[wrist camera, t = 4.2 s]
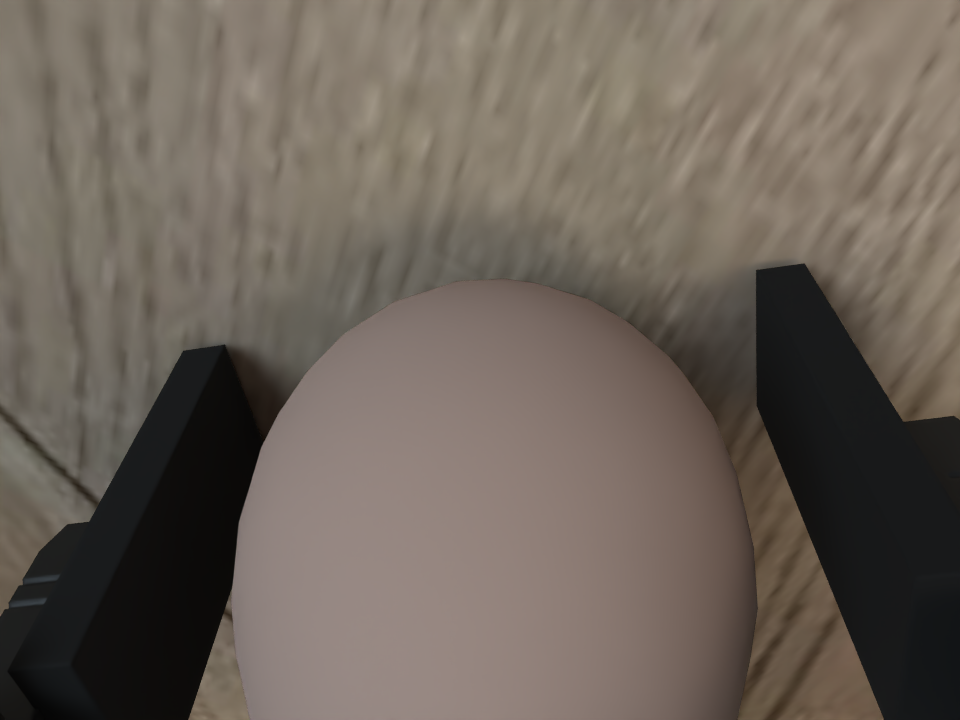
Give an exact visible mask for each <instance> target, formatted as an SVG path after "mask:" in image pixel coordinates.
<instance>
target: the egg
mask: <svg viewBox="0 0 960 720" xmlns="http://www.w3.org/2000/svg"><path fill="white" fill-rule="evenodd" d="M231 605H232V617H233V629H234V641H235V653H236V657H237V662H238V667H239V671H240V676H241V680H242V685H243V690H244V694H245V699H246V703H247V708H248V713H249V717H250V720H737V718H738V714H739V709H740V704H741V699H742V695H743V690H744V685H745V681H746V676H747V671H748V667H749V662H750V657H751V650H752V644H753V637H754V630H755V624H756V617H757V610H758V606H757V591H756V576H755V561H754V546H753V542H752V538H751V533H750V529H749V525H748V521H747V516H746V512H745V508H744V503H743V499H742V495H741V490H740V486H739V482H738V477H737V473H736V471H735V468H734V466H733V464H732V461H731V459H730V456H729V454H728V451H727V449H726V447H725V444H724V442H723V439H722V437H721V434H720V432H719V430H718V427H717V425H716V422H715V420H714V417H713V416H712V414H711V413H710V411H709V410H708V408H707V407H706V405H705V404H704V403H703V401H702V400H701V398H700V397H699V395H698V394H697V392H696V391H695V390H694V388H693V387H692V385H691V384H690V382H689V381H688V379H687V378H686V377H685V375H684V374H683V373H682V371H681V370H680V369H679V368H678V367H677V365H676V364H675V363H674V362H673V361H672V359H671V358H670V357H669V356H668V355H667V354H666V353H664V352H663V351H662V350H661V349H660V348H658V347H657V346H656V345H655V344H654V343H652V342H651V341H650V340H649V339H648V338H647V337H645V336H644V335H643V334H642V333H641V332H639V331H638V330H637V329H636V328H635V327H633V326H632V325H631V324H629V323H628V322H627V321H625V320H623V319H622V318H620V317H618V316H617V315H615V314H613V313H611V312H610V311H608V310H606V309H605V308H603V307H601V306H600V305H598V304H596V303H595V302H593V301H591V300H589V299H586V298H583V297H580V296H576V295H573V294H570V293H567V292H563V291H560V290H557V289H554V288H550V287H547V286H544V285H541V284H537V283H530V282H523V281H516V280H509V279H491V280H473V281H456V282H453V283H450V284H447V285H444V286H441V287H438V288H435V289H432V290H429V291H425V292H422V293H419V294H416V295H413V296H410V297H407V298H404V299H401V300H398V301H395V302H392V303H391V304H389V305H388V306H386V307H385V308H383V309H382V310H380V311H379V312H377V313H376V314H374V315H372V316H371V317H369V318H368V319H366V320H365V321H363V322H362V323H360V324H359V325H357V326H355V327H354V328H352V329H351V330H349V331H348V332H346V333H345V334H343V335H342V336H341V337H340V338H339V339H338V340H337V341H336V342H335V343H334V344H333V345H332V346H331V347H330V348H329V349H328V350H327V351H326V352H325V353H324V354H323V355H322V357H321V358H320V359H319V360H318V361H317V362H316V363H315V364H314V365H313V366H312V367H311V368H310V369H309V370H308V371H307V372H306V374H305V375H304V377H303V378H302V380H301V381H300V383H299V384H298V386H297V387H296V389H295V390H294V392H293V393H292V395H291V396H290V398H289V399H288V400H287V402H286V403H285V405H284V406H283V408H282V409H281V411H280V412H279V414H278V416H277V418H276V420H275V422H274V423H273V425H272V427H271V429H270V431H269V433H268V435H267V437H266V439H265V441H264V443H263V445H262V447H261V450H260V454H259V457H258V460H257V464H256V467H255V470H254V474H253V477H252V481H251V484H250V487H249V491H248V494H247V497H246V501H245V504H244V507H243V511H242V514H241V517H240V521H239V527H238V537H237V547H236V557H235V567H234V577H233V587H232V597H231Z"/></svg>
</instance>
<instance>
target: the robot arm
mask: <svg viewBox="0 0 960 720" xmlns="http://www.w3.org/2000/svg"><path fill="white" fill-rule="evenodd" d="M756 372H757V408H758V410H759V413H760V415H761V417H762V420H763V422H764V425H765V427H766V430H767V432H768V435H769V437H770V440H771V442H772V445H773V447H774V449H775V452H776V454H777V457H778V459H779V462H780V464H781V467H782V469H783V472H784V474H785V477H786V479H787V481H788V484H789V486H790V489H791V491H792V494H793V496H794V499H795V501H796V504H797V506H798V509H799V511H800V513H801V516H802V518H803V521H804V523H805V526H806V528H807V531H808V533H809V536H810V538H811V541H812V543H813V545H814V548H815V550H816V553H817V555H818V558H819V560H820V563H821V565H822V568H823V570H824V573H825V575H826V577H827V580H828V582H829V585H830V587H831V590H832V592H833V595H834V597H835V600H836V602H837V605H838V607H839V609H840V612H841V614H842V617H843V619H844V622H845V624H846V627H847V629H848V632H849V634H850V637H851V639H852V641H853V644H854V646H855V649H856V651H857V654H858V656H859V659H860V661H861V664H862V666H863V669H864V671H865V673H866V676H867V678H868V681H869V683H870V686H871V688H872V691H873V693H874V696H875V698H876V701H877V703H878V705H879V708H880V710H881V713H882V715H883V718H884V720H960V420H959V419H958V418H956V417H955V416H950V417H941V418H933V419H924V420H916V421H908V422H903V421H902V419H901V418H900V416H899V415H898V413H897V411H896V410H895V408H894V406H893V405H892V403H891V402H890V400H889V398H888V397H887V395H886V394H885V392H884V390H883V389H882V387H881V386H880V384H879V382H878V381H877V379H876V378H875V376H874V374H873V373H872V371H871V370H870V368H869V366H868V365H867V363H866V362H865V360H864V358H863V357H862V355H861V353H860V352H859V350H858V349H857V347H856V345H855V344H854V342H853V341H852V339H851V337H850V336H849V334H848V333H847V331H846V329H845V328H844V326H843V325H842V323H841V321H840V320H839V318H838V317H837V315H836V313H835V312H834V310H833V308H832V307H831V305H830V304H829V302H828V300H827V299H826V297H825V296H824V294H823V292H822V291H821V289H820V288H819V286H818V284H817V283H816V281H815V280H814V278H813V276H812V275H811V273H810V272H809V270H808V268H807V267H806V265H805V264H798V265H791V266H784V267H776V268H769V269H762V270H756ZM262 445H263V441H262V438H261V436H260V433H259V431H258V428H257V426H256V423H255V420H254V418H253V415H252V413H251V410H250V408H249V405H248V402H247V400H246V397H245V395H244V392H243V390H242V387H241V385H240V382H239V379H238V377H237V374H236V372H235V369H234V367H233V364H232V362H231V359H230V356H229V354H228V351H227V349H226V346H225V345H221V346H214V347H207V348H200V349H193V350H186V351H183V352H182V354H181V356H180V358H179V359H178V361H177V363H176V365H175V367H174V368H173V370H172V372H171V374H170V376H169V378H168V379H167V381H166V383H165V385H164V387H163V388H162V390H161V392H160V394H159V396H158V398H157V399H156V401H155V403H154V405H153V407H152V408H151V410H150V412H149V414H148V416H147V418H146V419H145V421H144V423H143V425H142V427H141V428H140V430H139V432H138V434H137V436H136V438H135V439H134V441H133V443H132V445H131V447H130V448H129V450H128V452H127V454H126V456H125V458H124V459H123V461H122V463H121V465H120V467H119V468H118V470H117V472H116V474H115V476H114V478H113V479H112V481H111V483H110V485H109V487H108V488H107V490H106V492H105V494H104V496H103V498H102V499H101V501H100V503H99V505H98V507H97V508H96V510H95V512H94V514H93V516H92V518H91V519H90V521H89V522H83V523H75V524H67V525H66V526H65V527H64V528H63V529H62V530H61V531H60V532H59V533H58V534H57V535H56V536H55V537H54V538H53V539H52V540H51V541H50V542H48V543H47V544H46V545H45V546H44V547H43V548H42V549H41V550H40V551H39V553H38V554H37V556H36V558H35V559H34V561H33V563H32V565H31V566H30V568H29V570H28V571H27V573H26V575H25V576H24V578H23V585H20V586H18V588H17V590H16V591H15V593H14V595H13V597H12V598H11V600H10V602H9V603H8V604H9V609H5V610H4V612H3V613H2V615H1V617H0V720H188V719H189V716H190V713H191V710H192V707H193V704H194V701H195V698H196V695H197V692H198V689H199V686H200V683H201V680H202V677H203V674H204V671H205V668H206V664H207V661H208V658H209V655H210V652H211V649H212V646H213V643H214V640H215V637H216V634H217V631H218V628H219V625H220V622H221V619H222V616H223V613H224V610H225V607H226V604H227V601H228V598H229V595H230V592H231V589H232V586H233V577H234V567H235V557H236V547H237V537H238V527H239V521H240V517H241V514H242V511H243V507H244V504H245V501H246V497H247V494H248V491H249V487H250V484H251V481H252V477H253V474H254V470H255V467H256V464H257V460H258V457H259V454H260V450H261V447H262Z"/></svg>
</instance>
